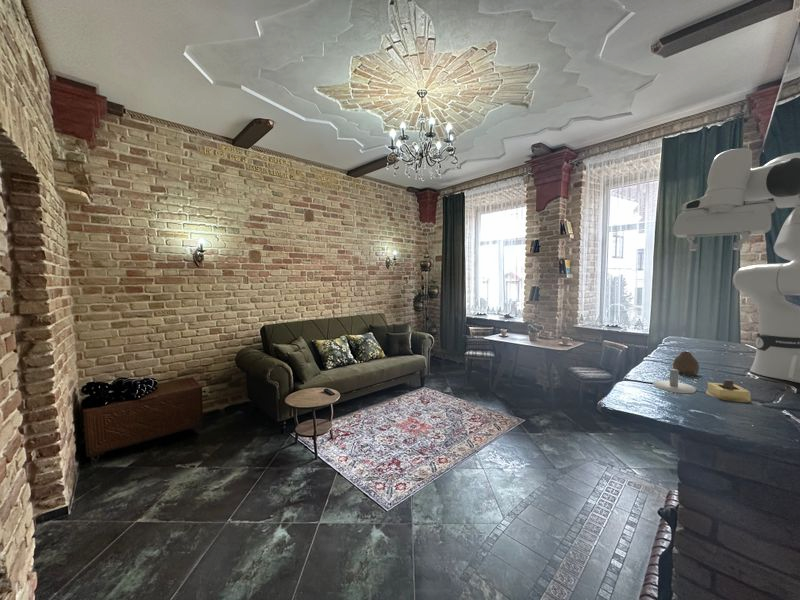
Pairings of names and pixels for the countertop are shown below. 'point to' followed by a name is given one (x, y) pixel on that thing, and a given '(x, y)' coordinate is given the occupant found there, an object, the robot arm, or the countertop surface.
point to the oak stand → (727, 385)
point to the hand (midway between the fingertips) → (713, 249)
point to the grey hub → (674, 384)
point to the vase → (686, 364)
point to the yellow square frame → (729, 392)
